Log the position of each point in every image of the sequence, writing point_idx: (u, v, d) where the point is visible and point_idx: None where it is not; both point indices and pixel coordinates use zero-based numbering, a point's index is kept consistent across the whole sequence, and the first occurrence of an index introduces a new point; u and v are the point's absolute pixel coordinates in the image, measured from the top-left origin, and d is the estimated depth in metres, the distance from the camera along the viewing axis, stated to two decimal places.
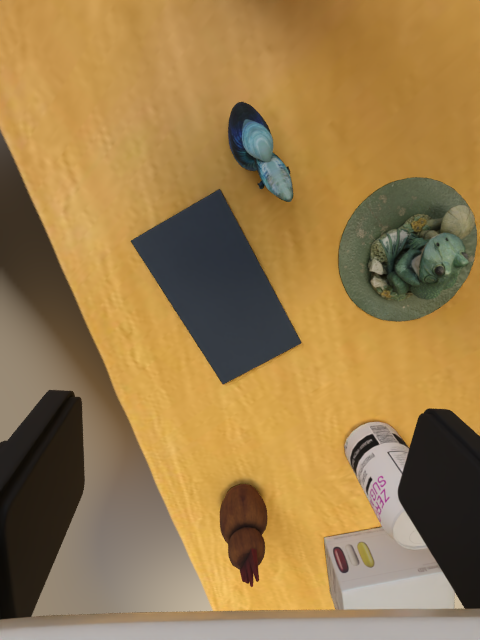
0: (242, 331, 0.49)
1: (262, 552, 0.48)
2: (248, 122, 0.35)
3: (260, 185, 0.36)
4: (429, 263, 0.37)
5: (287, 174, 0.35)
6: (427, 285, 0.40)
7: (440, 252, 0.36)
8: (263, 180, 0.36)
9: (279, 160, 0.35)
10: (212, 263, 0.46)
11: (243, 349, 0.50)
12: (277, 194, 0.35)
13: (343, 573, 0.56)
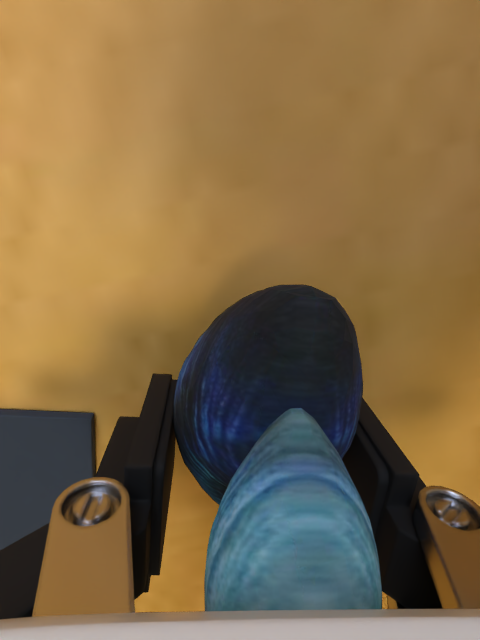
0: None
1: None
2: (307, 456, 0.06)
3: None
4: None
5: None
6: None
7: None
8: None
9: None
10: None
11: None
12: None
13: None
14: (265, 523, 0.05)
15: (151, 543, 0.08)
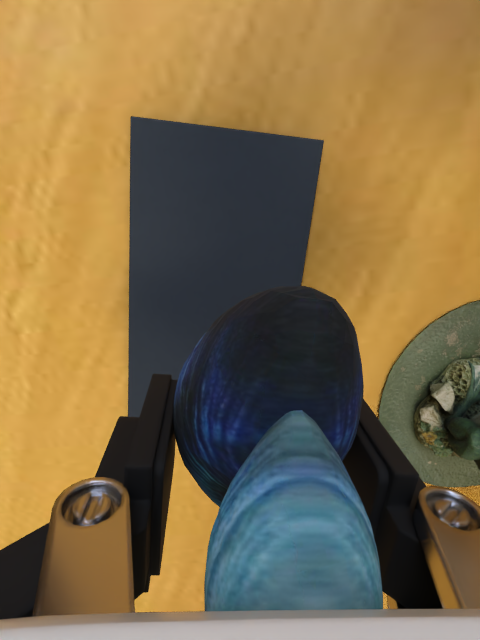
0: None
1: None
2: (308, 459, 0.06)
3: None
4: None
5: None
6: None
7: None
8: None
9: None
10: (235, 243, 0.26)
11: None
12: None
13: None
14: (265, 526, 0.05)
15: (151, 543, 0.08)
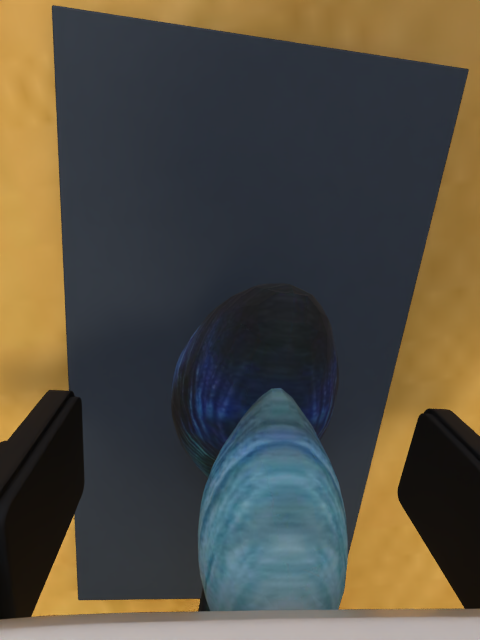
0: None
1: None
2: (285, 427, 0.07)
3: None
4: None
5: None
6: None
7: None
8: None
9: None
10: (277, 282, 0.13)
11: (191, 548, 0.16)
12: None
13: None
14: (248, 480, 0.06)
15: (1, 603, 0.06)
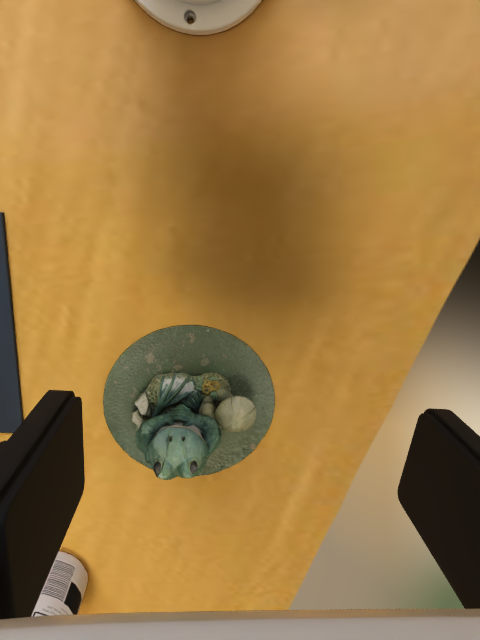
0: None
1: None
2: None
3: None
4: (154, 452, 0.29)
5: None
6: None
7: (168, 449, 0.28)
8: None
9: None
10: None
11: None
12: None
13: None
14: None
15: (1, 603, 0.06)
